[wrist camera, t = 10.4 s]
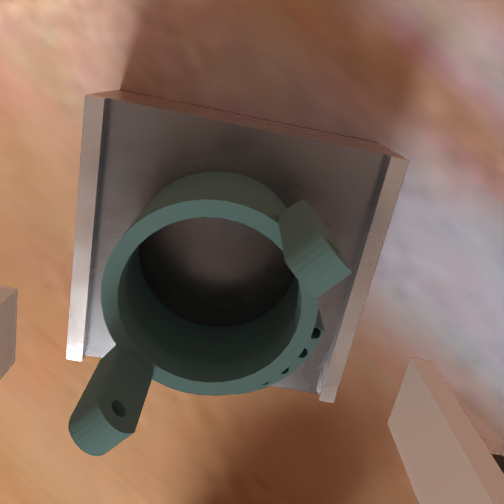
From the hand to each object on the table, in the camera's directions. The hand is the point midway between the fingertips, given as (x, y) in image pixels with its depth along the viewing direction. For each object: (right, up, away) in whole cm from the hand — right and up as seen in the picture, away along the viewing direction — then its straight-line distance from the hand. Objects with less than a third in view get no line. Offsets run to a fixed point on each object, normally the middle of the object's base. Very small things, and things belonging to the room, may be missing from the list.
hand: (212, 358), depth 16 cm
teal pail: (0, +3, +7) cm, 8 cm away
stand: (0, +5, +12) cm, 13 cm away
